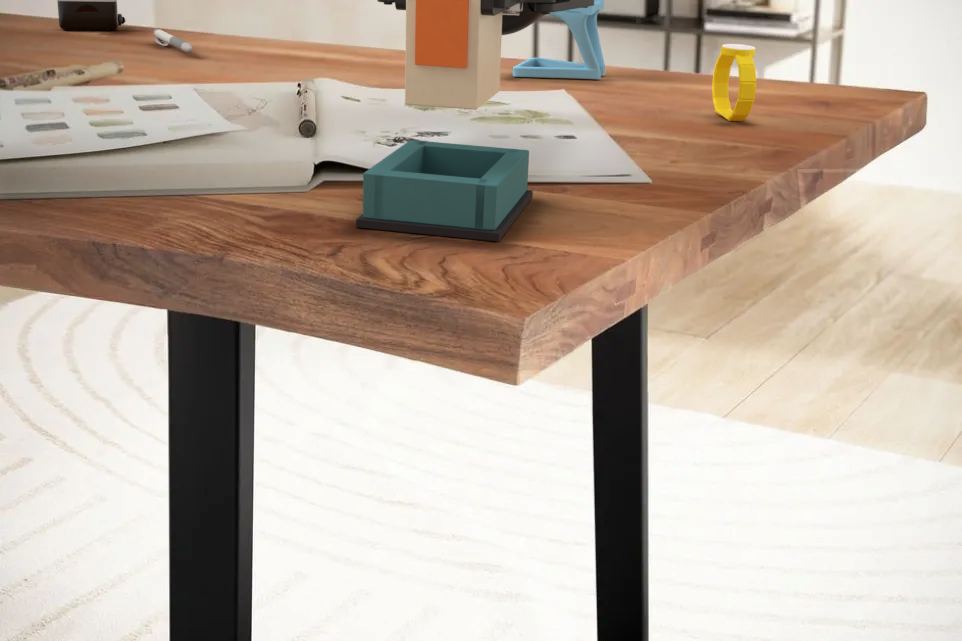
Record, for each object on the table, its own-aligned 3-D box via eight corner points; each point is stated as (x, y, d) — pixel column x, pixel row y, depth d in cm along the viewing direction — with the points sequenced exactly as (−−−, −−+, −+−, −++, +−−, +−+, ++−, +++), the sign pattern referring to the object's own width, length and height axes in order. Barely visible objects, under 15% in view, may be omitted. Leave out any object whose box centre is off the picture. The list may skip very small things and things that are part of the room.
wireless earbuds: (125, 31, 139) (124, 1, 137) (59, 30, 137) (56, 1, 136) (126, 26, 143) (124, -3, 142) (61, 25, 141) (59, -4, 140)
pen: (160, 40, 133) (159, 26, 132) (196, 58, 122) (196, 44, 121) (150, 40, 133) (150, 27, 132) (186, 59, 121) (186, 44, 121)
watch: (701, 111, 105) (708, 40, 103) (731, 111, 106) (739, 41, 104) (728, 125, 99) (736, 50, 97) (760, 125, 100) (768, 51, 98)
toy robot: (432, 86, 72) (436, -94, 68) (499, 91, 71) (506, -91, 67) (403, 105, 66) (405, -91, 62) (475, 110, 65) (481, -88, 62)
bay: (405, 186, 76) (406, 138, 75) (532, 198, 75) (535, 149, 74) (355, 227, 67) (355, 173, 66) (498, 242, 65) (501, 187, 64)
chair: (595, 83, 117) (604, -48, 112) (511, 76, 119) (517, -53, 115) (609, 72, 124) (619, -52, 120) (529, 66, 126) (536, -56, 122)
